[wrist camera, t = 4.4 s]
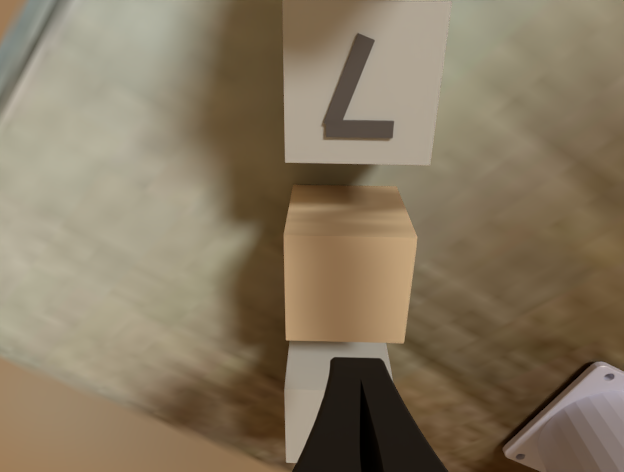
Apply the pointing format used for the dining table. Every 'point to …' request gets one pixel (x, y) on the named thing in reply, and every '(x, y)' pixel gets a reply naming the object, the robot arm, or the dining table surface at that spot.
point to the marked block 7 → (362, 80)
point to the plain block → (347, 264)
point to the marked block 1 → (315, 384)
